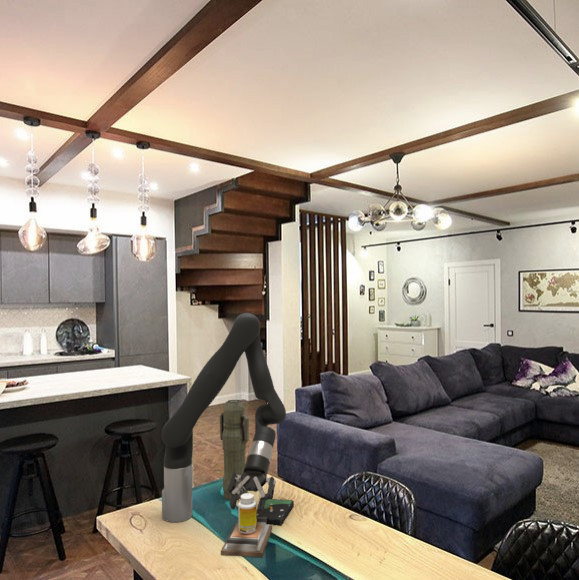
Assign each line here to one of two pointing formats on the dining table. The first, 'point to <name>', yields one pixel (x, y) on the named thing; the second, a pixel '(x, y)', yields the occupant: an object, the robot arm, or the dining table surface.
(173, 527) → the dining table surface
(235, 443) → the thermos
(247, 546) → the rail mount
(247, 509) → the supplement bottle
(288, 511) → the disk drive
